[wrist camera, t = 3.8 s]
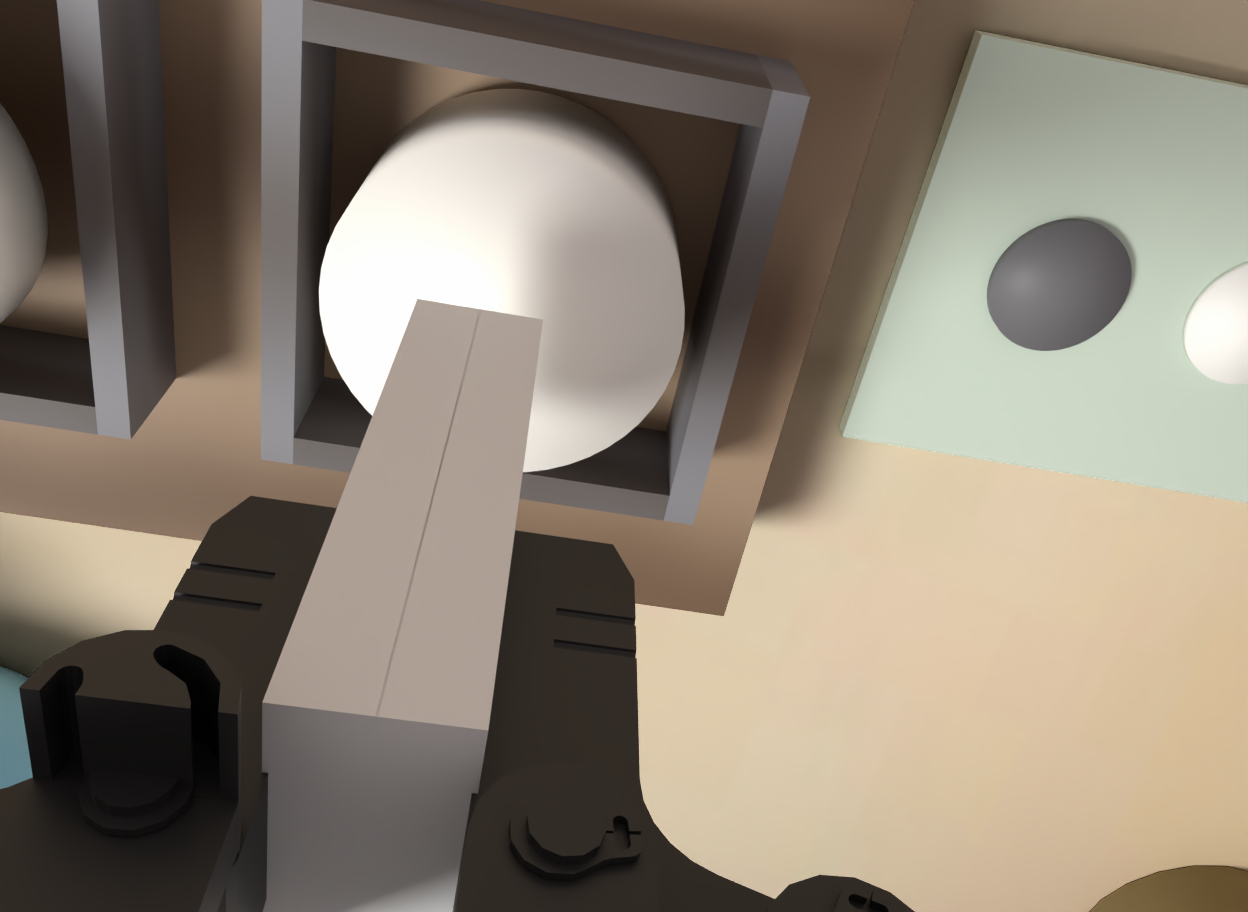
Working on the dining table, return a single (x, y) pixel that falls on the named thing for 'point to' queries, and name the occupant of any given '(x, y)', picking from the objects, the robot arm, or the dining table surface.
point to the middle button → (19, 218)
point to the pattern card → (1073, 277)
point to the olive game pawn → (1182, 892)
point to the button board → (323, 189)
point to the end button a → (517, 259)
